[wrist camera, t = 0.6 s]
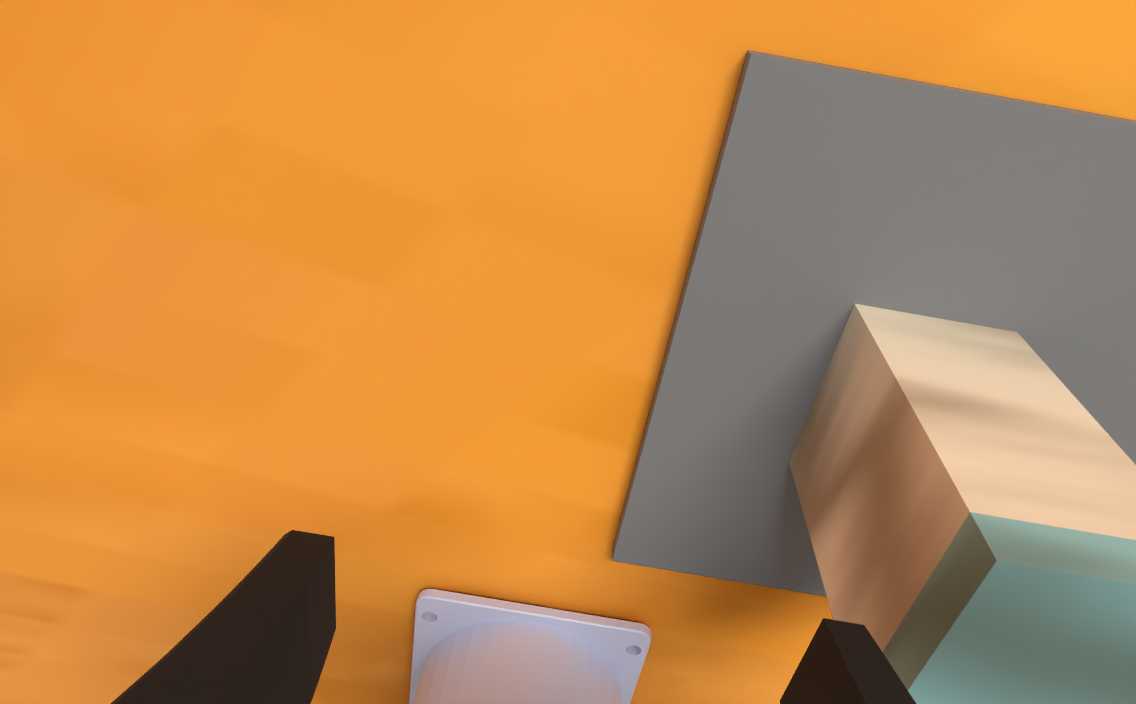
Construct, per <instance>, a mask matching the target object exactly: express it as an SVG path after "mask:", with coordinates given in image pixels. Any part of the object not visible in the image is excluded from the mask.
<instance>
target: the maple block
mask: <svg viewBox="0 0 1136 704" xmlns="http://www.w3.org/2000/svg"><path fill="white" fill-rule="evenodd" d="M789 464H790V467H791V471H792V474H793V478H794V482H795V485H796V489H797V492H798V496H799V499H800V503H801V506H802V510H803V514H804V517H805V521H806V524H807V528H808V531H809V535H810V538H811V542H812V546H813V549H814V553H815V556H816V560H817V563H818V567H819V570H820V574H821V578H822V581H823V585H824V588H825V592H826V595H827V599H828V602H829V606H830V610H831V613H832V617H833V620H837V621H844V622H850V623H856V624H862V625H865V627H866V628H867V630H868V631H869V633H870V634H871V636H872V637H873V639H874V640H875V642H876V643H877V645H878V646H879V648H880V649H881V651H882V652H883V654H884V655H885V657H886V658H887V660H888V661H889V663H890V664H891V666H892V667H893V669H894V670H895V672H896V673H897V675H898V676H899V678H900V679H901V681H902V682H903V684H904V685H905V687H906V689H907V690H908V692H909V693H910V695H911V696H912V698H913V699H914V701H915V702H916V704H1136V465H1135V464H1134V463H1133V461H1132V460H1131V459H1130V458H1129V457H1128V456H1127V455H1126V454H1125V452H1124V451H1123V450H1122V449H1121V448H1120V447H1119V446H1118V445H1117V443H1116V442H1115V441H1114V440H1113V439H1112V438H1111V437H1110V436H1109V434H1108V433H1107V432H1106V431H1105V430H1104V429H1103V428H1102V427H1101V426H1100V424H1099V423H1098V422H1097V421H1096V420H1095V419H1094V418H1093V417H1092V415H1091V414H1090V413H1089V412H1088V411H1087V410H1086V409H1085V408H1084V406H1083V405H1082V404H1081V403H1080V402H1079V401H1078V400H1077V399H1076V397H1075V396H1074V395H1073V394H1072V393H1071V392H1070V391H1069V390H1068V389H1067V387H1066V386H1065V385H1064V384H1063V383H1062V382H1061V381H1060V380H1059V378H1058V377H1057V376H1056V375H1055V374H1054V373H1053V372H1052V371H1051V369H1050V368H1049V367H1048V366H1047V365H1046V364H1045V363H1044V362H1043V360H1042V359H1041V358H1040V357H1039V356H1038V355H1037V354H1036V353H1035V352H1034V350H1033V349H1032V348H1031V347H1030V346H1029V345H1028V344H1027V343H1026V341H1025V340H1024V339H1023V338H1022V337H1021V336H1020V335H1019V334H1018V332H1014V331H1008V330H1002V329H997V328H991V327H985V326H979V325H974V324H968V323H962V322H957V321H951V320H945V319H939V318H934V317H928V316H922V315H917V314H911V313H905V312H900V311H894V310H888V309H882V308H877V307H871V306H865V305H860V304H854V306H853V309H852V311H851V314H850V316H849V318H848V321H847V323H846V326H845V328H844V330H843V333H842V335H841V338H840V340H839V342H838V345H837V347H836V349H835V352H834V354H833V357H832V359H831V361H830V364H829V366H828V369H827V371H826V373H825V376H824V378H823V380H822V383H821V385H820V388H819V390H818V392H817V395H816V397H815V400H814V402H813V404H812V407H811V409H810V412H809V414H808V416H807V419H806V421H805V423H804V426H803V428H802V431H801V433H800V435H799V438H798V440H797V443H796V445H795V447H794V450H793V452H792V455H791V457H790V459H789Z"/></svg>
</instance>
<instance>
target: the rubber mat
mask: <svg viewBox="0 0 1136 704" xmlns="http://www.w3.org/2000/svg"><path fill="white" fill-rule="evenodd" d="M854 304H860V305H865V306H871V307H877V308H882V309H888V310H894V311H900V312H905V313H911V314H917V315H922V316H928V317H934V318H939V319H945V320H951V321H957V322H962V323H968V324H974V325H979V326H985V327H991V328H997V329H1002V330H1008V331H1014V332H1018V334H1019V335H1020V336H1021V337H1022V338H1023V339H1024V340H1025V341H1026V343H1027V344H1028V345H1029V346H1030V347H1031V348H1032V349H1033V350H1034V352H1035V353H1036V354H1037V355H1038V356H1039V357H1040V358H1041V359H1042V360H1043V362H1044V363H1045V364H1046V365H1047V366H1048V367H1049V368H1050V369H1051V371H1052V372H1053V373H1054V374H1055V375H1056V376H1057V377H1058V378H1059V380H1060V381H1061V382H1062V383H1063V384H1064V385H1065V386H1066V387H1067V389H1068V390H1069V391H1070V392H1071V393H1072V394H1073V395H1074V396H1075V397H1076V399H1077V400H1078V401H1079V402H1080V403H1081V404H1082V405H1083V406H1084V408H1085V409H1086V410H1087V411H1088V412H1089V413H1090V414H1091V415H1092V417H1093V418H1094V419H1095V420H1096V421H1097V422H1098V423H1099V424H1100V426H1101V427H1102V428H1103V429H1104V430H1105V431H1106V432H1107V433H1108V434H1109V436H1110V437H1111V438H1112V439H1113V440H1114V441H1115V442H1116V443H1117V445H1118V446H1119V447H1120V448H1121V449H1122V450H1123V451H1124V452H1125V454H1126V455H1127V456H1128V457H1129V458H1130V459H1131V460H1132V461H1133V463H1134V464H1135V465H1136V121H1134V120H1128V119H1123V118H1117V117H1112V116H1106V115H1101V114H1095V113H1090V112H1084V111H1079V110H1074V109H1068V108H1063V107H1057V106H1052V105H1046V104H1041V103H1035V102H1030V101H1024V100H1019V99H1013V98H1008V97H1002V96H997V95H991V94H986V93H980V92H975V91H969V90H964V89H958V88H953V87H947V86H942V85H936V84H931V83H925V82H920V81H914V80H909V79H903V78H898V77H892V76H887V75H881V74H876V73H870V72H865V71H859V70H854V69H848V68H843V67H837V66H832V65H826V64H821V63H815V62H810V61H804V60H799V59H793V58H788V57H782V56H777V55H771V54H766V53H760V52H755V51H749V50H748V51H747V55H746V58H745V62H744V66H743V69H742V73H741V77H740V81H739V84H738V88H737V92H736V95H735V99H734V103H733V106H732V110H731V114H730V117H729V121H728V125H727V128H726V132H725V136H724V139H723V143H722V147H721V151H720V154H719V158H718V162H717V165H716V169H715V173H714V176H713V180H712V184H711V187H710V191H709V195H708V198H707V202H706V206H705V210H704V213H703V217H702V221H701V224H700V228H699V232H698V235H697V239H696V243H695V246H694V250H693V254H692V257H691V261H690V265H689V268H688V272H687V276H686V280H685V283H684V287H683V291H682V294H681V298H680V302H679V305H678V309H677V313H676V316H675V320H674V324H673V327H672V331H671V335H670V338H669V342H668V346H667V350H666V353H665V357H664V361H663V364H662V368H661V372H660V375H659V379H658V383H657V386H656V390H655V394H654V397H653V401H652V405H651V408H650V412H649V416H648V420H647V423H646V427H645V431H644V434H643V438H642V442H641V445H640V449H639V453H638V456H637V460H636V464H635V467H634V471H633V475H632V478H631V482H630V486H629V490H628V493H627V497H626V501H625V504H624V508H623V512H622V515H621V519H620V523H619V526H618V530H617V534H616V537H615V541H614V545H613V548H612V561H616V562H623V563H629V564H635V565H641V566H647V567H653V568H659V569H665V570H671V571H677V572H683V573H689V574H695V575H701V576H707V577H713V578H719V579H725V580H731V581H737V582H743V583H749V584H755V585H761V586H767V587H773V588H779V589H785V590H791V591H797V592H803V593H809V594H815V595H821V596H827V595H826V592H825V588H824V585H823V581H822V578H821V574H820V570H819V567H818V563H817V560H816V556H815V553H814V549H813V546H812V542H811V538H810V535H809V531H808V528H807V524H806V521H805V517H804V514H803V510H802V506H801V503H800V499H799V496H798V492H797V489H796V485H795V482H794V478H793V474H792V471H791V467H790V464H789V459H790V457H791V455H792V452H793V450H794V447H795V445H796V443H797V440H798V438H799V435H800V433H801V431H802V428H803V426H804V423H805V421H806V419H807V416H808V414H809V412H810V409H811V407H812V404H813V402H814V400H815V397H816V395H817V392H818V390H819V388H820V385H821V383H822V380H823V378H824V376H825V373H826V371H827V369H828V366H829V364H830V361H831V359H832V357H833V354H834V352H835V349H836V347H837V345H838V342H839V340H840V338H841V335H842V333H843V330H844V328H845V326H846V323H847V321H848V318H849V316H850V314H851V311H852V309H853V306H854Z"/></svg>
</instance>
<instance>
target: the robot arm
mask: <svg viewBox="0 0 1136 704" xmlns="http://www.w3.org/2000/svg"><path fill="white" fill-rule="evenodd" d="M335 629H336V608H335V553H334V537H331V536H325V535H319V534H313V533H307V532H301V531H295V530H292V531H290V532H288V533H287V534H285V535H284V536H283V537H282V538H281V539H280V540H279V542H278V543H277V544H276V545H275V546H274V547H273V548H272V549H271V550H270V551H269V552H268V553H267V555H266V556H265V557H264V558H263V559H262V560H261V561H260V562H259V563H258V564H257V565H256V566H255V567H254V568H253V569H252V570H251V572H250V573H249V574H248V575H247V576H246V577H245V578H244V579H243V580H242V581H241V582H240V583H239V584H238V585H237V586H236V587H235V588H234V589H233V590H232V591H231V592H230V593H229V594H228V595H227V596H226V597H225V598H224V599H223V600H222V601H221V602H220V603H219V604H218V605H217V606H216V607H215V608H214V609H213V610H212V611H211V612H210V613H209V614H208V615H207V616H206V617H205V618H204V619H203V620H202V621H201V622H200V623H199V624H198V625H196V626H195V627H194V628H193V629H192V630H191V631H190V632H189V633H188V634H187V635H186V636H185V637H184V638H183V639H182V640H181V641H180V642H179V643H178V644H177V645H176V646H175V647H174V648H172V649H171V650H170V651H169V652H168V653H167V654H166V655H165V656H164V657H163V658H162V659H161V660H160V661H158V662H157V663H156V664H155V665H154V666H153V667H152V668H151V669H150V670H148V671H147V672H146V673H145V674H144V675H143V676H142V677H140V678H139V679H138V680H137V681H136V682H135V683H134V684H132V685H131V686H130V687H129V688H128V689H127V690H126V691H125V692H123V693H122V694H121V695H120V696H119V697H118V698H117V699H115V700H114V701H113V702H112V703H111V704H310V703H311V701H312V698H313V695H314V692H315V689H316V687H317V684H318V681H319V678H320V675H321V672H322V669H323V666H324V663H325V660H326V657H327V654H328V651H329V648H330V645H331V642H332V639H333V636H334V632H335ZM650 644H651V630H650V629H649V627H647V626H646V625H644V624H641V623H637V622H631V621H625V620H619V619H613V618H607V617H601V616H595V615H589V614H583V613H577V612H571V611H564V610H558V609H552V608H546V607H540V606H534V605H528V604H522V603H516V602H510V601H504V600H498V599H492V598H486V597H480V596H473V595H467V594H461V593H455V592H449V591H443V590H437V589H426V590H423V591H421V592H420V593H419V595H418V598H417V602H416V609H415V624H414V639H413V654H412V668H411V683H410V698H409V704H630V702H631V699H632V696H633V693H634V690H635V688H636V685H637V682H638V679H639V676H640V673H641V670H642V667H643V664H644V662H645V659H646V656H647V653H648V650H649V647H650ZM780 704H916V702H915V701H914V699H913V698H912V696H911V695H910V693H909V692H908V690H907V689H906V687H905V685H904V684H903V682H902V681H901V679H900V678H899V676H898V675H897V673H896V672H895V670H894V669H893V667H892V666H891V664H890V663H889V661H888V660H887V658H886V657H885V655H884V654H883V652H882V651H881V649H880V648H879V646H878V645H877V643H876V642H875V640H874V639H873V637H872V636H871V634H870V633H869V631H868V630H867V628H866V627H865V625H862V624H856V623H850V622H844V621H837V620H831V619H825V618H823V620H822V622H821V624H820V626H819V628H818V629H817V631H816V633H815V635H814V637H813V639H812V641H811V643H810V645H809V647H808V648H807V650H806V652H805V654H804V656H803V658H802V660H801V662H800V664H799V666H798V667H797V669H796V671H795V673H794V675H793V677H792V679H791V681H790V683H789V685H788V686H787V688H786V690H785V692H784V694H783V696H782V698H781V700H780Z"/></svg>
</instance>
